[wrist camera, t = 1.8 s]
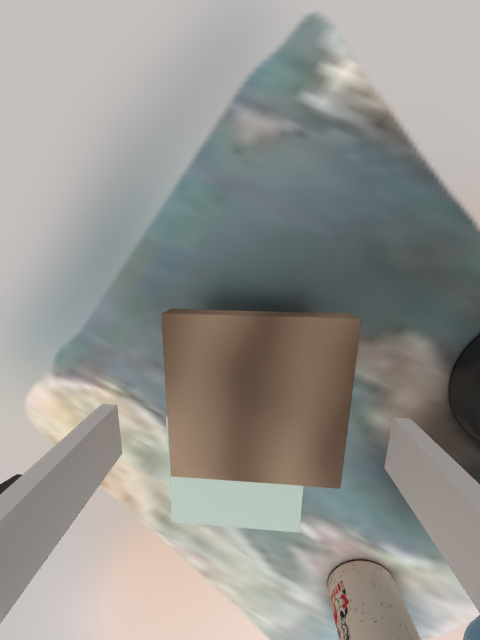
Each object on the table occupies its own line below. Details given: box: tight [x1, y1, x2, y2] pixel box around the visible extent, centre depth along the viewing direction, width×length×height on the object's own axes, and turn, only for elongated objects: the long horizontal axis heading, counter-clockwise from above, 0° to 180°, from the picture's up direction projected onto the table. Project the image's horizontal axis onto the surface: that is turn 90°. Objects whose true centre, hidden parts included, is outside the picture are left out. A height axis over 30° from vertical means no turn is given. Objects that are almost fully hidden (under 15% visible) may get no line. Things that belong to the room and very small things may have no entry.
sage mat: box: [166, 416, 303, 532], centre depth 28 cm, size 16×15×1 cm
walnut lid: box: [162, 309, 361, 488], centre depth 15 cm, size 11×11×2 cm
